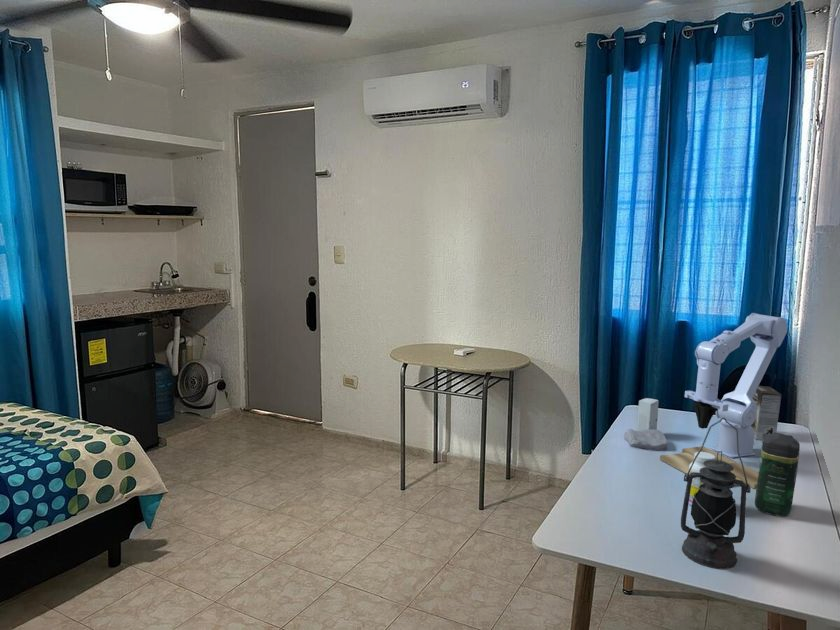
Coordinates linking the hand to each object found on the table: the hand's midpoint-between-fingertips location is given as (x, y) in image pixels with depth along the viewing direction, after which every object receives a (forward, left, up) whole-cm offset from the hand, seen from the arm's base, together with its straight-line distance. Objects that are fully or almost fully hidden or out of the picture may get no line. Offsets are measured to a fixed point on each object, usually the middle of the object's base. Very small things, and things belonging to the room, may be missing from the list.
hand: (702, 427), depth 176 cm
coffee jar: (+6, +30, -10) cm, 32 cm away
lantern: (+38, +42, -10) cm, 58 cm away
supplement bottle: (+22, +23, -10) cm, 33 cm away
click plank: (+7, +7, -10) cm, 14 cm away
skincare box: (+2, -21, -10) cm, 23 cm away
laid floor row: (-3, +7, -10) cm, 12 cm away
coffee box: (-36, -11, -10) cm, 39 cm away
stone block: (+7, -14, -10) cm, 19 cm away
